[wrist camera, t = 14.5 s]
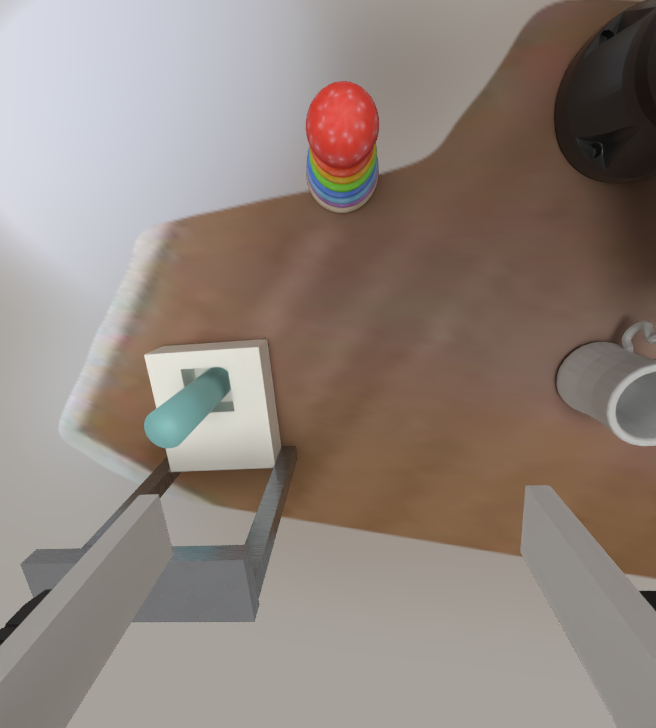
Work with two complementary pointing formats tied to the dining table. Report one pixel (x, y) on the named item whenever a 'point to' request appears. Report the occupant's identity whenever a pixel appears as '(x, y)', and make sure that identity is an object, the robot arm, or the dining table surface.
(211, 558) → the grey rectangular frame
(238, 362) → the socket block
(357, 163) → the stacking toy
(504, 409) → the dining table surface
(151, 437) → the peg
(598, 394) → the mug
